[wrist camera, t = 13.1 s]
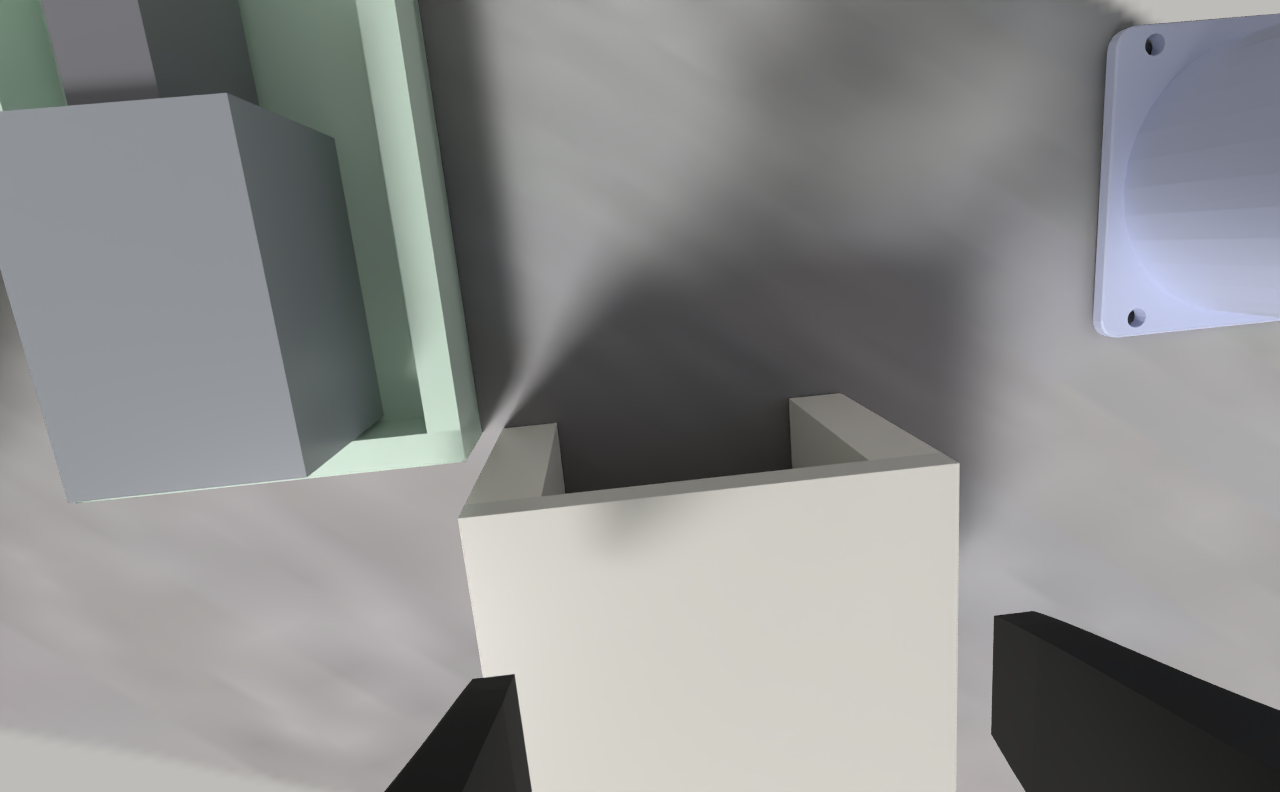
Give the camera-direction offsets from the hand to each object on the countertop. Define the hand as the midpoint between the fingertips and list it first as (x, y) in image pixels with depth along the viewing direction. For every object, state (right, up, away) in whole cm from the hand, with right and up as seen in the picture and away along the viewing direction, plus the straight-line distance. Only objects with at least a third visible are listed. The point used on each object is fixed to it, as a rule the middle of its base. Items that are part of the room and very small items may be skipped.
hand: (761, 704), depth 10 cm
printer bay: (0, 0, +10) cm, 10 cm away
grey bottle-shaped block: (-11, +9, +7) cm, 16 cm away
